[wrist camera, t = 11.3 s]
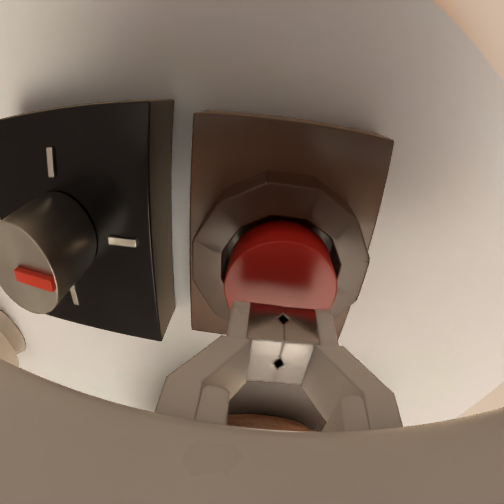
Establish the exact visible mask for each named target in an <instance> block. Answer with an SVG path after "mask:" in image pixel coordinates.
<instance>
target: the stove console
mask: <svg viewBox="0 0 504 504" xmlns="http://www.w3.org/2000/svg"><path fill="white" fill-rule="evenodd" d="M173 104H174V100H173V99H147V100H124V101H110V102H98V103H88V104H79V105H71V106H63V107H56V108H50V109H44V110H38V111H32V112H27V113H22V114H18V115H14V116H10V117H6V118H2V119H0V220H2V219H4V218H5V217H7V216H8V215H10V214H11V213H13V212H14V211H16V210H18V209H19V208H21V207H22V206H24V205H25V204H27V203H29V202H30V201H32V200H33V199H35V198H37V197H38V196H40V195H42V194H44V193H46V192H60V193H63V194H66V195H68V196H69V197H71V198H72V199H74V200H75V201H76V202H77V203H78V204H79V205H80V206H81V207H82V208H83V209H84V211H85V212H86V214H87V215H88V217H89V219H90V221H91V223H92V225H93V228H94V231H95V235H96V243H97V248H96V254H95V258H94V260H93V262H92V264H91V265H90V266H89V267H88V269H87V270H86V271H85V272H84V273H83V274H82V275H81V277H80V278H79V279H78V280H77V281H76V282H75V284H74V285H73V286H72V287H71V288H70V289H69V291H68V292H67V293H66V294H65V295H64V297H63V298H62V299H61V300H60V302H59V303H58V304H57V305H56V307H55V308H54V309H53V310H52V311H50V312H48V313H45V314H47V315H50V316H54V317H57V318H61V319H64V320H68V321H72V322H76V323H79V324H83V325H87V326H91V327H95V328H100V329H104V330H108V331H112V332H117V333H121V334H126V335H131V336H136V337H141V338H146V339H151V340H156V341H162V339H163V337H164V334H165V332H166V329H167V327H168V324H169V322H170V319H171V317H172V315H173V312H174V310H175V298H174V281H173V261H172V232H171V152H172V123H173Z"/></svg>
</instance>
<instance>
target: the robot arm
mask: <svg viewBox="0 0 504 504" xmlns="http://www.w3.org/2000/svg"><path fill="white" fill-rule="evenodd" d="M249 310H250V311H249ZM246 381H258V382H274V383H283V384H294V385H301V387H302V388H303V390H304V391H305V393H306V394H307V395H308V397H309V398H310V400H311V401H312V403H313V404H314V405H315V407H316V408H317V410H318V411H319V413H320V414H321V415H322V417H323V418H324V420H325V421H326V422H327V423H326V424H325V426H324V428H323V429H322V431H284V430H268V429H256V428H246V427H236V426H228V425H227V420H228V408H229V401H230V399H231V398H232V397H233V396H234V395H235V394H236V393H237V392H238V391H239V390H240V388H241V387H242V386H243V385H244V384H245V383H246ZM0 504H504V407H503V408H499V409H496V410H492V411H488V412H484V413H480V414H476V415H472V416H468V417H462V418H457V419H452V420H447V421H441V422H435V423H429V424H422V425H415V426H407V427H403V425H402V421H401V417H400V414H399V410H398V406H397V403H396V399H395V395H394V393H393V392H392V391H391V390H390V389H389V388H387V387H386V386H385V385H384V384H383V383H382V382H381V381H380V380H379V379H378V378H377V377H376V376H375V375H374V374H372V373H371V372H370V371H369V370H368V369H367V368H366V367H365V366H364V365H363V364H362V363H361V362H360V361H359V360H357V359H356V358H355V357H354V356H353V355H352V354H351V353H350V352H349V351H348V350H347V349H346V348H345V347H344V346H339V345H338V340H337V335H336V331H335V326H334V322H333V317H332V313H331V311H330V310H329V309H307V308H295V307H285V306H278V305H270V304H262V303H255V302H251V304H250V302H246V301H238V300H234V301H233V304H232V309H231V315H230V320H229V326H228V331H227V336H223V335H222V336H220V337H219V338H218V339H216V340H215V341H214V342H212V343H211V344H210V345H208V346H207V347H206V348H205V349H203V350H202V351H201V352H199V353H198V354H197V355H195V356H194V357H193V358H191V359H190V360H189V361H187V362H186V363H185V364H183V365H182V366H180V367H179V368H178V369H176V370H175V371H174V372H172V373H171V374H170V375H168V376H167V377H166V380H165V383H164V386H163V389H162V392H161V395H160V398H159V401H158V404H157V407H156V410H155V413H154V412H149V411H145V410H141V409H137V408H133V407H129V406H126V405H122V404H118V403H115V402H111V401H108V400H104V399H101V398H98V397H95V396H92V395H88V394H85V393H82V392H80V391H77V390H74V389H71V388H68V387H65V386H63V385H60V384H57V383H55V382H52V381H50V380H47V379H45V378H42V377H40V376H37V375H35V374H33V373H30V372H28V371H26V370H23V369H21V368H19V367H17V366H15V365H13V364H10V363H8V362H6V361H4V360H2V359H0Z"/></svg>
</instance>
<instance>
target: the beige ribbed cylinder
mask: <svg viewBox="0 0 504 504" xmlns="http://www.w3.org/2000/svg"><path fill="white" fill-rule="evenodd" d="M25 348H26V345H25V341H24V338H23V336H22V334H21V333H20V331H19V330H18V328H17V327H16V325H15V324H14V323H13V322H12V321H11V319H10V318H9V317H8V316H6V315H5V314H4V313H3V312H2V311H0V359H2V360H4V361H6V362H8V363H10V364H13V365H15V366H17V367H18V366H19V361H18V357H17V355H16V354H18V353H20V352H22V351H24V350H25Z"/></svg>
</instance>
